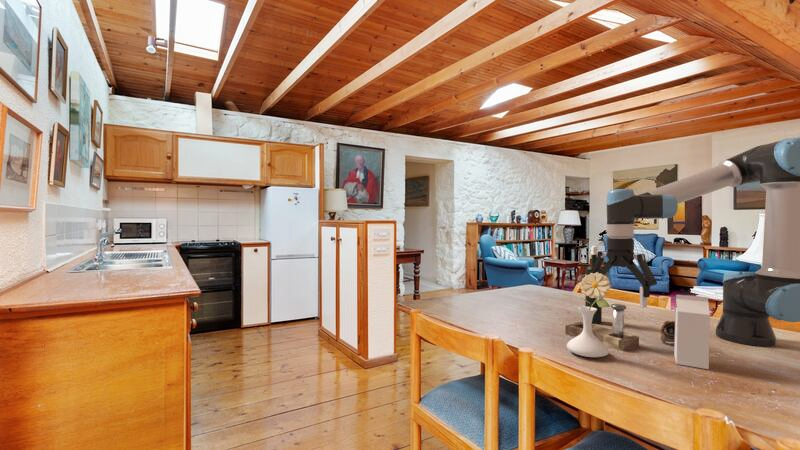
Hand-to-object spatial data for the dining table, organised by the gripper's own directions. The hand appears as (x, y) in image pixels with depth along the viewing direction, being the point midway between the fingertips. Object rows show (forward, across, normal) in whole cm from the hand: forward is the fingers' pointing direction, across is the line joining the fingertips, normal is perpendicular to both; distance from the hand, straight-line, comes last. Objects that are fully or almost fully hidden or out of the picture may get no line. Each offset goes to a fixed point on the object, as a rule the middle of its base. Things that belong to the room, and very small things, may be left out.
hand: (620, 303), depth 122 cm
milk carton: (+14, -18, -1) cm, 23 cm away
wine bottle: (+14, +20, -18) cm, 31 cm away
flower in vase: (+13, 0, +17) cm, 22 cm away
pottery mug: (+14, -8, -18) cm, 24 cm away
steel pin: (+13, +1, +1) cm, 13 cm away
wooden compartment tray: (+13, +6, +1) cm, 15 cm away
